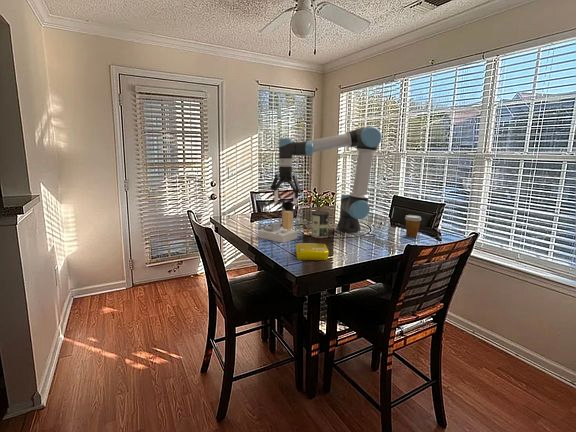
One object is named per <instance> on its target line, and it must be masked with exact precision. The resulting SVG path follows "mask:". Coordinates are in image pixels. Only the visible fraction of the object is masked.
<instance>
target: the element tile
mask: <svg viewBox="0 0 576 432" xmlns="http://www.w3.org/2000/svg"><path fill="white" fill-rule="evenodd" d="M295 252H296V254H295V255H296V259H297V260H300V261H301V260H302V261H304V260H305V261H306V260H307V261H309V260H310V261H326V260H329V249H328V247H327V245H326V244H325V243H318V242H317V243H313V242H312V243H311V242H309V243H307V242H302V243H301V242H297V243H296V244H295Z"/></svg>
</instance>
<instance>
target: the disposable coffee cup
mask: <svg viewBox="0 0 576 432" xmlns="http://www.w3.org/2000/svg"><path fill="white" fill-rule="evenodd" d="M404 219H405V233H406V236H407V237H411V238H412V237H413V238H416V237H418V233H419V229H420V226H421V221H422V217H421V216H420V215H414V214H408V215H407V214H406V215H405V217H404Z"/></svg>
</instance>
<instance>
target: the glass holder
mask: <svg viewBox="0 0 576 432" xmlns="http://www.w3.org/2000/svg"><path fill="white" fill-rule="evenodd" d="M281 205H282V206H281V222H280V226H282V227H283V212H284V211H291V212H292V227H293V226H294V221H295V220H296V219H297V218H298V217H299V216H300V215H301V212H302V209H299V210H300V211H299V213H298V214H297V216H296V217H295V218H294V212H295V211H296V209H297V206H298V204H295V207H294V204H293V202H289V201H288V202H287V201H286V202H281ZM299 206H300V208H302V206H301V205H299Z"/></svg>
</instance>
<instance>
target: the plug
mask: <svg viewBox="0 0 576 432" xmlns="http://www.w3.org/2000/svg"><path fill="white" fill-rule="evenodd" d="M292 227H293V226H292V212H291V211H284V212H283V226H282V228H284V229H289V230H293V228H292Z"/></svg>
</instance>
